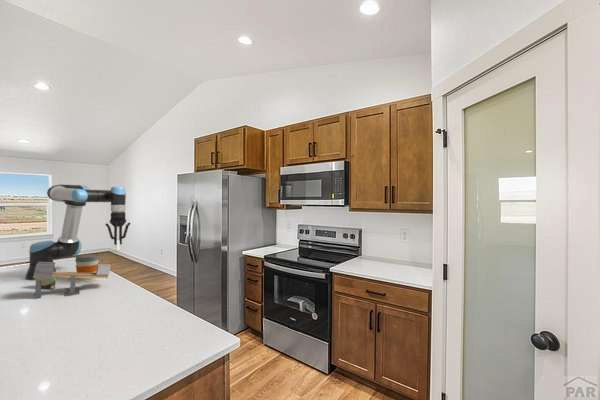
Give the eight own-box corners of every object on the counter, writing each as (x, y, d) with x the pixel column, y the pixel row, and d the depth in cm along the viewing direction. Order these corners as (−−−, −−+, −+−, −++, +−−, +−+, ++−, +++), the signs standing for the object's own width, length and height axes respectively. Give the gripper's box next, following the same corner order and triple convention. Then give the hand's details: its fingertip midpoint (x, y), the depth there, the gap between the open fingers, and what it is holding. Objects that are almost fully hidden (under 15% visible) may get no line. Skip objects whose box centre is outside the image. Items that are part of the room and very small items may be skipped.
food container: (63, 286, 161) (63, 270, 161) (53, 290, 155) (53, 272, 155) (45, 285, 162) (45, 269, 162) (34, 289, 156) (34, 272, 156)
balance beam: (34, 275, 145) (38, 261, 146) (106, 276, 165) (108, 263, 166) (32, 279, 138) (36, 264, 139) (107, 279, 158) (110, 266, 159)
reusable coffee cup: (78, 277, 181) (78, 254, 181) (101, 274, 186) (101, 253, 186) (72, 282, 169) (72, 258, 169) (96, 279, 175) (96, 257, 175)
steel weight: (95, 274, 160) (98, 264, 161) (107, 274, 164) (110, 264, 165) (96, 275, 156) (98, 265, 157) (108, 275, 160) (110, 265, 161)
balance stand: (37, 294, 147) (37, 276, 147) (79, 288, 158) (79, 271, 158) (34, 301, 138) (34, 282, 138) (79, 293, 149) (79, 276, 149)
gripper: (105, 212, 158) (105, 252, 158) (131, 211, 166) (131, 249, 166) (104, 211, 164) (104, 250, 164) (129, 211, 172) (129, 248, 172)
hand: (117, 250), depth 165 cm, fingers closed
